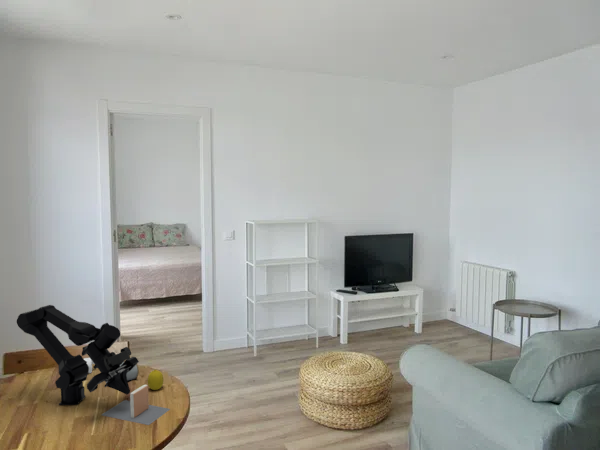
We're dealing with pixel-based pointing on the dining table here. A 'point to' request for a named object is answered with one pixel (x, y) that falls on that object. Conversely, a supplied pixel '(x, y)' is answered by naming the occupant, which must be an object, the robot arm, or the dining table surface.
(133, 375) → the ceramic mug
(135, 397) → the tile
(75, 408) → the dining table surface
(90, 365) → the elephant figurine
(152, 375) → the lemon
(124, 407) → the mat
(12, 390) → the dining table surface
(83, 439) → the dining table surface
